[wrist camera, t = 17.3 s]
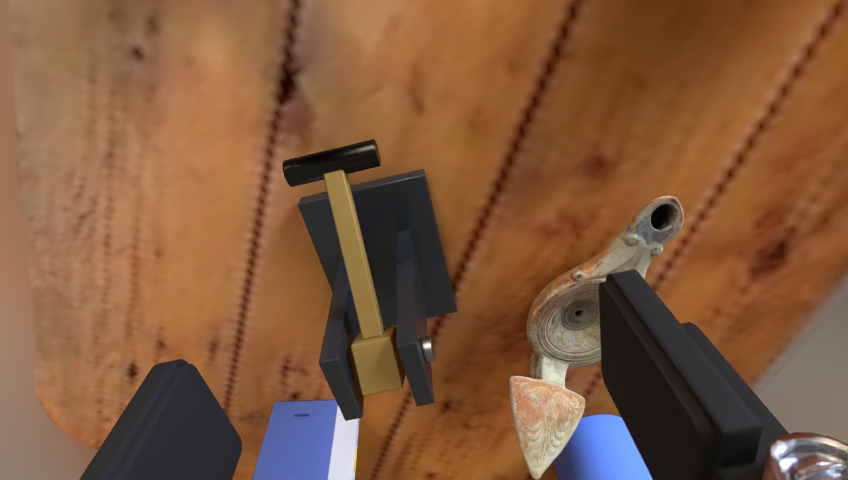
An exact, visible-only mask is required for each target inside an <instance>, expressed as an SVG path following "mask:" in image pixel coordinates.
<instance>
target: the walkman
mask: <svg viewBox="0 0 848 480" xmlns="http://www.w3.org/2000/svg"><path fill="white" fill-rule="evenodd" d="M359 420H360V418H358V419H353V420H348V421H345V419H344V417H343V415H342V413H341V411H340V408H339V406H338V404H337V402H336V400H319V401H288V402H274V406H273V409H272V413H271V416H270V420H269V423H268V426H267V430H266V433H265V437H264V440H263V444H262V447H261V451H260V454H259V457H258V461H257V464H256V468H255V471H254V475H253V478H252V480H355V471H356V460H357V445H358V433H359Z"/></svg>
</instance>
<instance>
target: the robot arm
mask: <svg viewBox="0 0 848 480" xmlns="http://www.w3.org/2000/svg"><path fill="white" fill-rule="evenodd" d="M599 312H600V340H601V367H602V375H603V379H604V382H605V385H606V387H607V389H608V391H609V393H610V395H611V397H612V399H613V401H614V403H615V405H616V407H617V409H618V411H619V413H620V415H621V417H622V419H623V421H624V423H625V425H626V427H627V429H628V431H629V433H630V435H631V437H632V439H633V441H634V443H635V445H636V447H637V449H638V451H639V453H640V455H641V457H642V459H643V461H644V463H645V465H646V467H647V469H648V471H649V473H650V475H651V477H652V479H653V480H848V444H846V443H844V442H842V441H839V440H837V439H834V438H832V437H828V436H824V435H820V434H815V433H799V432H795V433H791V434H789V433H788V432H787V431H786V430H785V428H784V427H783V426H782V425H781V424H780V423H779V421H778V420H777V419H776V418H775V417H774V416H773V415H772V413H771V412H770V411H769V410H768V409H767V407H766V406H765V405H764V404H763V403H762V402H761V400H760V399H759V398H758V397H757V396H756V394H755V393H754V392H753V391H752V390H751V389H750V387H749V386H748V385H747V384H746V383H745V382H744V380H743V379H742V378H741V377H740V376H739V375H738V373H737V372H736V371H735V370H734V369H733V368H732V366H731V365H730V364H729V363H728V362H727V361H726V359H725V358H724V357H723V356H722V355H721V353H720V352H719V351H718V350H717V349H716V348H715V346H714V345H713V344H712V343H711V342H710V341H709V339H708V338H707V337H706V336H705V335H704V334H703V332H702V331H701V330H700V329H699V328H698V327H697V326H696V325H695V324H692V323H690V322H688V323H683V324H680V323H679V322H678V320H677V319H676V318H675V317H674V315H673V314H672V313H671V312H670V311H669V309H668V308H667V307H666V306H665V304H664V303H663V302H662V301H661V299H660V298H659V297H658V296H657V294H656V293H655V292H654V291H653V290H652V288H651V287H650V286H649V285H648V283H647V282H646V281H645V280H644V278H643V277H642V276H641V275H640V274H639V272H638V271H637V270H634V269H632V270H627V271H622V272H617V273H612V274H608V275H607V277H606V282H601V283H599ZM241 451H242V442H241V438H240V436H239V435H238V433H237V431H236V430H235V428H234V427H233V425H232V423H231V422H230V420H229V419H228V417H227V416H226V414H225V412H224V411H223V409H222V408H221V406H220V405H219V403H218V401H217V400H216V398H215V397H214V395H213V394H212V392H211V390H210V389H209V387H208V386H207V384H206V383H205V381H204V379H203V378H202V376H201V375H200V373H199V371H198V370H197V368H196V367H195V366H194V365H192V364H188V362H187V361H185V360H182V359H179V360H174V361H169V362H164V363H159V364H157V365H155V366H154V367H153V368H152V369H151V370H150V372H149V373H148V375H147V376H146V378H145V379H144V381H143V383H142V384H141V386H140V387H139V389H138V390H137V392H136V393H135V395H134V396H133V398H132V399H131V401H130V403H129V404H128V406H127V407H126V409H125V410H124V412H123V413H122V415H121V416H120V418H119V419H118V421H117V423H116V424H115V426H114V427H113V429H112V430H111V432H110V433H109V435H108V436H107V438H106V439H105V441H104V443H103V444H102V446H101V447H100V449H99V450H98V452H97V453H96V455H95V457H94V458H93V460H92V461H91V463H90V464H89V466H88V467H87V469H86V470H85V472H84V473H83V475H82V476H81V478H80V480H232V478H233V475H234V472H235V469H236V466H237V463H238V461H239V458H240V455H241Z"/></svg>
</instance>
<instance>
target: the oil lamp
mask: <svg viewBox="0 0 848 480" xmlns="http://www.w3.org/2000/svg"><path fill="white" fill-rule="evenodd" d="M683 221H684V214H683V209H682V207H681V205H680V203H679V201H678V199H677V198H676V197H673V196H662V197H659V198H655V199H654V200H652V201H650V202H648V203H646V204H645V205H644V206H642V207H641V208H640V209H639V210H638V211H637V213H636V214H635V215H634V217H633V218H632V220H631V222H630V223H629V224H628V225H627V227H626V228H625V229H624V230H623V231H622V232H621V233H620V234H619V235H618V236H617V237H616V238H615V239H614V240H613V241H612V242H611V243H610V244H609V245H608V246H607V247H606V248H604V249H603V250H602V251H601V252H599V253H598V254H597V255H595V256H594V257H592V258H591V259H589V260H588V261H586V262H584V263H582V264H581V265H579V266H577V267H575V268H573V269H571V270H569V271H567V272H565V273H563V274H561V275H560V276H558V277H557V278H555V279H554V280H552V281H551V282H550V283H549V284H548V285H547V286H546V287H545V288H544V289H543V290H542V291H541V292H540V293H539V294H538V296H537V297H536V298H535V300H534V302H533V303H532V305H531V308H530V311H529V314H528V318H527V322H526V334H527V338H528V341H529V344H530V346H531V348H532V349H533V352H532V355H531V359H530V372H529V374H530V378H528V377H522V376H512V377H510V381H509V385H510V401H511V407H512V414H513V419H514V423H515V427H516V432H517V436H518V441H519V444H520V448H521V451H522V454H523V457H524V459H525V462H526V464H527V467H528V469H529V471H530V474H531V476H532V477H533V478H534V479H535V480H538V479H539V478H540V477H541V475H542V474H543V472H544V471H545V470H546V469H547V468H548V467H549V465H550V464H551V463H552V462H553V461H554V459H555V458H556V457H557V456H558V455H559V454H560V453H561V451H562V450H563V448H564V447H565V445H566V444H567V442H568V441H569V439H570V437H571V436H572V434H573V433H574V431H575V429H576V427H577V425H578V423H579V421H580V419H581V417H582V414H583V411H584V408H585V399H584V398H583V397H582V396H580V395H578V394H576V393H574V392H572V391H570V390H568V389H566V388H565V375H566V371H567V368H570V367H580V366H587V365H590V364H593V363H596V362H599V361H601V340H600V312H599V283H601V282H606V277H607V275H608V274H612V273H617V272H622V271H627V270H632V269H634V270H637V271H638V272H639V274H640V275H641V276H642V277H643V278H644V277H645V274H646V270H647V268H648V266H649V263H650V261H651V260H652V258H653V257H654V256H658V255H660V254H661V253H662V252H663V246H664V245H665V244H667V243H668V242H670V241H671V240H672V239H673V238H674V237H676V236H677V234H678V233H679V231H680V230H681V227H682V225H683Z"/></svg>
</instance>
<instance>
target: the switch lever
mask: <svg viewBox="0 0 848 480" xmlns="http://www.w3.org/2000/svg"><path fill="white" fill-rule="evenodd" d="M378 166H381V158H380V154H379V150H378V146H377V143H376V141H375V140H374V139H372V140H368V141H364V142H360V143H356V144H352V145H347V146H343V147H339V148H335V149H331V150H327V151H322V152H318V153H314V154H310V155H306V156H302V157H297V158H293V159H289V160H285V161H284V162H283V172H284V176H285V178H286V181H287V183H288V184H289V185H290V186H291V187H294V186H298V185H302V184H306V183H310V182H315V181H319V180H323V179H324V180H325V184H326V189H327V193H328V197H329V201H330V205H331V209H332V213H333V218H334V222H335V226H336V230H337V234H338V238H339V242H340V247H341V251H342V255H343V259H344V263H345V267H346V271H347V276H348V280H349V284H350V288H351V292H352V296H353V300H354V305H355V309H356V313H357V317H358V321H359V325H360V329H361V333H360V334H358V336H357V338H356V339H355V341H354V342H353V344H352V345H351V350H352V354H353V358H354V362H355V366H356V370H357V374H358V378H359V382H360V387H361V391H362V395H363V396H365V395H370V394H375V393H380V392H385V391H390V390H394V389H399V388H402V387H403V383H404V379H405V374H406V373H405V370H404V367H403V364H402V361H401V358H400V355H399V352H398V349H397V330H396V327H395V326H392V327H387V328H384V327H383V322H382V318H381V314H380V310H379V306H378V301H377V297H376V293H375V289H374V285H373V280H372V276H371V272H370V268H369V264H368V259H367V255H366V251H365V247H364V243H363V238H362V234H361V230H360V226H359V222H358V217H357V213H356V209H355V205H354V201H353V196H352V192H351V188H350V184H349V180H348V175H347V174H349V173H353V172H357V171H361V170H365V169H370V168H374V167H378Z"/></svg>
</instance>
